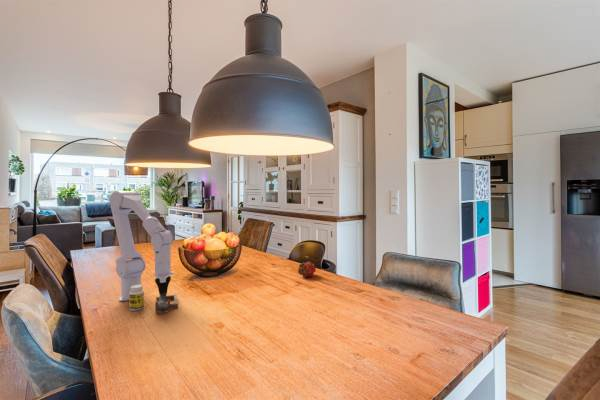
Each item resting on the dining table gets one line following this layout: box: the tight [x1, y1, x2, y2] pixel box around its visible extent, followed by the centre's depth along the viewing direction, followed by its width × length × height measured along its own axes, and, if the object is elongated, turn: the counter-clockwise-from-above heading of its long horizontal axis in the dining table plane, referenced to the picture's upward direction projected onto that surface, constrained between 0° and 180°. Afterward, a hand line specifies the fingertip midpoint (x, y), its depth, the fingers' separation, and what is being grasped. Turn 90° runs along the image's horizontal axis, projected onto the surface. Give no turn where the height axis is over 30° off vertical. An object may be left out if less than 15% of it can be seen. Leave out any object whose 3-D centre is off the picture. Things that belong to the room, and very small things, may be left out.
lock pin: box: [158, 293, 168, 311], centre depth 113 cm, size 13×3×3 cm, turn 24°
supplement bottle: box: [128, 284, 145, 312], centre depth 113 cm, size 5×5×8 cm
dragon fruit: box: [297, 261, 317, 278], centre depth 157 cm, size 8×8×12 cm
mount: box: [154, 294, 179, 315], centre depth 116 cm, size 14×8×4 cm, turn 24°
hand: (163, 296), depth 119 cm, fingers closed
